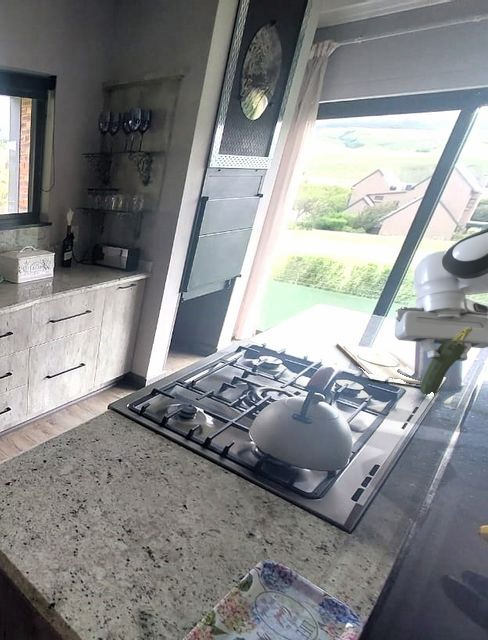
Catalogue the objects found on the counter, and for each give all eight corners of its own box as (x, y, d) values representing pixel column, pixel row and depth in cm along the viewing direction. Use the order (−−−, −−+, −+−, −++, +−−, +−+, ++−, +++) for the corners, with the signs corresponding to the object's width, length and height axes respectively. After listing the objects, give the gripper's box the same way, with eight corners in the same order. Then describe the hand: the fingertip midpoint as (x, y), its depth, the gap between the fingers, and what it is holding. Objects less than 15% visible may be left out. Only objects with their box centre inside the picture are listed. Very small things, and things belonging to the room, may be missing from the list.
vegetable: (416, 398, 107) (459, 328, 98) (407, 390, 111) (448, 322, 101) (437, 401, 106) (483, 330, 96) (427, 393, 110) (470, 324, 100)
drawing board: (385, 352, 134) (387, 349, 133) (431, 389, 112) (433, 385, 111) (335, 345, 138) (337, 342, 137) (370, 379, 116) (372, 376, 115)
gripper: (404, 300, 105) (409, 349, 102) (500, 308, 101) (509, 359, 97) (385, 311, 111) (390, 357, 107) (475, 319, 107) (482, 368, 103)
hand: (447, 358), depth 102 cm, fingers closed on vegetable, 4 cm apart
